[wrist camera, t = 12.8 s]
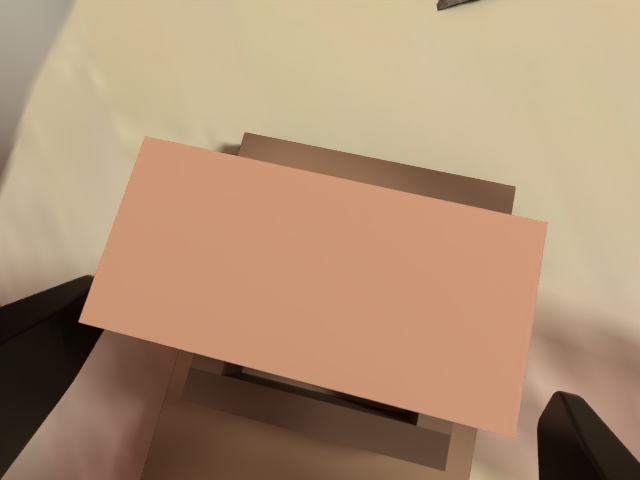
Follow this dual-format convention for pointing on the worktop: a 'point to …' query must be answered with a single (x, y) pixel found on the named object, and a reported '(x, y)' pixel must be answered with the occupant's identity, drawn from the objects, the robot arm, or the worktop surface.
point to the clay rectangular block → (324, 282)
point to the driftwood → (447, 3)
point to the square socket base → (303, 398)
